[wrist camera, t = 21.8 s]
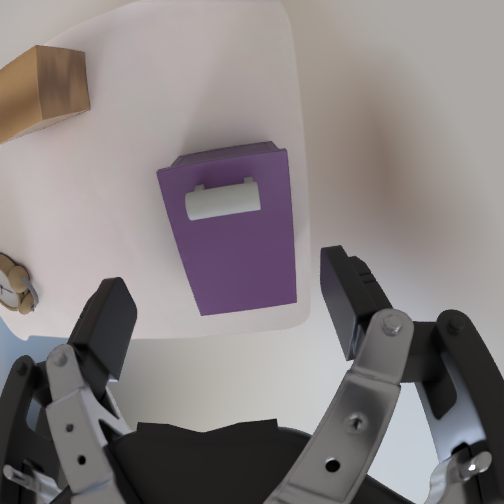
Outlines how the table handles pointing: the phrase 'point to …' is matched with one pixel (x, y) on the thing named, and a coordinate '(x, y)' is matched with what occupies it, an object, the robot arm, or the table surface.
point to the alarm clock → (16, 287)
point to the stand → (41, 90)
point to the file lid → (234, 229)
